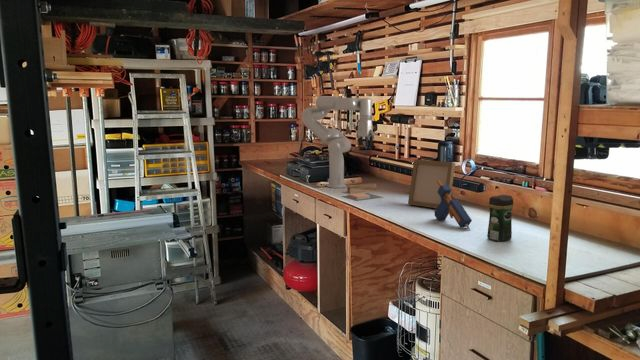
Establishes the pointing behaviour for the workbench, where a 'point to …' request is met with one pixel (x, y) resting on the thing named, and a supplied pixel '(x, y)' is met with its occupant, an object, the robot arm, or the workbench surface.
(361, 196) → the tile
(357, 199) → the mat
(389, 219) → the workbench surface
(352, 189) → the batten
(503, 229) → the coffee jar
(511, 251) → the workbench surface
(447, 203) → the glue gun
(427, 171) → the photo frame
